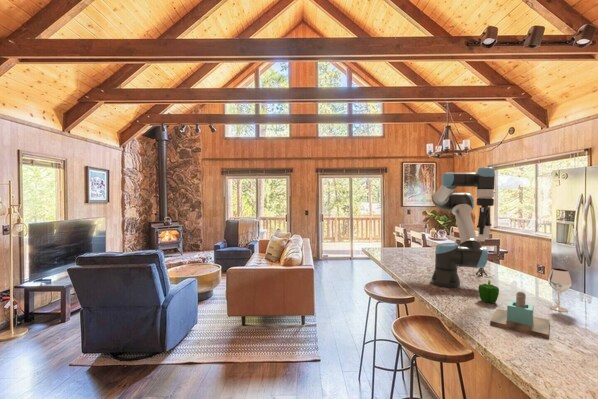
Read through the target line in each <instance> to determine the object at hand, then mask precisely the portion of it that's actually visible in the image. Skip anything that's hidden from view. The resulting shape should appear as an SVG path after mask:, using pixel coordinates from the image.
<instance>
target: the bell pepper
mask: <svg viewBox="0 0 598 399" xmlns="http://www.w3.org/2000/svg"><path fill="white" fill-rule="evenodd" d="M499 293H500V289H499V287H498V286H497V285H496V286H495V285H494V284H491V280H490V279H489V280H488V281H487V283H482V284H478V295H479V299H480V300H481V301H482V302H484V303H489V304H495V303H497V300H498V298H499V295H500V294H499Z"/></svg>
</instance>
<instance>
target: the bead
mask: <svg viewBox="0 0 598 399" xmlns="http://www.w3.org/2000/svg"><path fill="white" fill-rule="evenodd" d="M506 306H507V307H506V311H507V321H511V322H516V323H520V324H524V325H529V326H532V323H533V316H534V306H535V305H534V304H530V303H525V308H523V307H518V306H516V300H515V301H514V300H509V301H508V303H507V305H506Z"/></svg>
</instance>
